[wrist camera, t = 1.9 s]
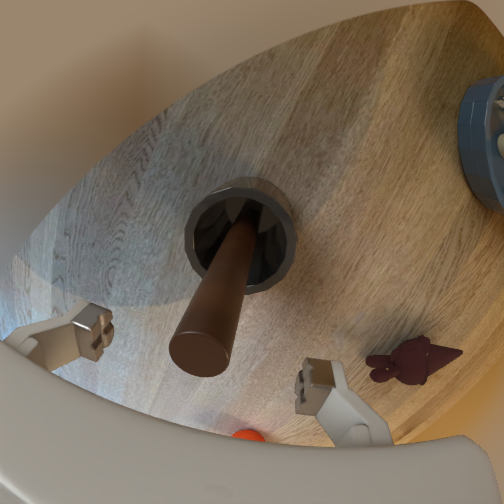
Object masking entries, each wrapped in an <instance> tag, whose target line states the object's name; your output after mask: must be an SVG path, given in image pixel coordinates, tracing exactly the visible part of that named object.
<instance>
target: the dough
mask: <svg viewBox="0 0 504 504" xmlns="http://www.w3.org/2000/svg"><path fill="white" fill-rule="evenodd" d="M497 145H498V151H499V153H500V155H501V156H502V157H503V158H504V134H501V135H500V136H499V138H498V142H497Z"/></svg>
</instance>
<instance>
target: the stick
mask: <svg viewBox="0 0 504 504" xmlns="http://www.w3.org/2000/svg"><path fill="white" fill-rule="evenodd" d="M259 225H260V217H259V215H258V213H257V212H256V211H254V210H252V209H244V210H242V211H241V212H240V213H239V214H238V216H237V217H236V219H235V221H234V223H233V224H232V226H231V228H230V230H229V232H228V233H227V235H226V237H225V239H224V241H223V242H222V244H221V246H220V248H219V250H218V252H217V253H216V255H215V257H214V259H213V261H212V263H211V264H210V266H209V268H208V270H207V272H206V274H205V276H204V277H203V279H202V281H201V283H200V285H199V287H198V289H197V291H196V292H195V294H194V296H193V298H192V300H191V302H190V304H189V306H188V308H187V310H186V311H185V313H184V315H183V317H182V319H181V321H180V323H179V325H178V327H177V329H176V331H175V333H174V335H173V337H172V339H171V341H170V343H169V353H170V356H171V358H172V360H173V361H174V363H175V364H176V365H177V366H178V367H179V368H180V369H182V370H183V371H185V372H187V373H189V374H191V375H194V376H198V377H213V376H217V375H219V374H221V373H222V372H224V371H225V370H226V368H227V367H228V365H229V362H230V357H231V353H232V348H233V344H234V339H235V335H236V330H237V326H238V321H239V317H240V312H241V307H242V303H243V298H244V294H245V289H246V285H247V280H248V275H249V271H250V266H251V262H252V257H253V253H254V248H255V243H256V239H257V234H258V230H259Z"/></svg>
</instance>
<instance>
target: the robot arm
mask: <svg viewBox="0 0 504 504" xmlns="http://www.w3.org/2000/svg"><path fill="white" fill-rule="evenodd" d="M112 319H113V315H112V311H111V310H109V309H106V308H104V307H101V306H98V305H96V304H93V303H90V302H88V301H85V300H80V301H79V302H78V303H77V304H76V305H75V306H74V307H72V308H71V309H70V310H69V311H68V312H67V313H66V314H65V315H64V316H63V317H62V318H61V317H56V318H52V319H48V320H45V321H41V322H37V323H33V324H29V325H26V326H22V327H18V328H16V329H15V330H14V331H13V332H12V333H11V334H10V335H9V336H8V337H6V338H5V339H4V340H3V341H1V340H0V504H502V500H501V496H500V492H499V487H498V483H497V480H496V476H495V473H494V470H493V467H492V464H491V461H490V459H489V457H488V455H487V453H486V451H485V450H483V449H482V448H481V447H480V446H479V445H477V444H476V443H475V442H474V441H473V440H471V439H470V438H468V437H467V436H464V435H456V436H452V437H446V438H441V439H436V440H430V441H423V442H416V443H409V444H399V445H394V444H393V440H392V436H391V433H390V429H389V426H388V423H387V422H386V421H385V420H384V419H383V418H382V417H381V416H379V415H378V414H377V413H376V412H375V411H374V410H373V409H372V408H371V407H370V406H369V405H368V404H367V403H366V402H365V401H364V400H363V399H361V398H360V397H359V396H358V395H357V394H356V393H355V392H354V391H353V390H352V389H349V388H348V383H347V379H346V375H345V371H344V367H343V364H342V362H341V361H333V360H322V359H315V358H307V357H306V358H305V359H304V361H303V364H302V368H303V370H301V371H299V373H298V375H297V378H296V382H295V394H296V395H297V398H296V400H295V411H296V414H302V415H310V416H316V419H317V420H318V421H319V423H320V424H321V426H322V427H323V429H324V430H325V432H326V433H327V434H328V436H329V437H330V439H331V440H332V441H333V443H334V444H335V447H314V446H299V445H287V444H277V443H269V442H261V441H254V440H248V439H242V438H236V437H231V436H226V435H221V434H216V433H211V432H207V431H203V430H199V429H195V428H191V427H187V426H183V425H180V424H176V423H173V422H169V421H166V420H163V419H159V418H156V417H153V416H150V415H147V414H144V413H141V412H139V411H136V410H133V409H130V408H128V407H125V406H122V405H120V404H117V403H115V402H112V401H110V400H108V399H105V398H103V397H101V396H98V395H96V394H94V393H92V392H89V391H87V390H85V389H83V388H81V387H79V386H77V385H75V384H73V383H71V382H69V381H67V380H65V379H63V378H61V377H59V376H57V375H55V374H54V373H52V372H51V371H53V370H55V369H57V368H59V367H61V366H63V365H65V364H67V363H69V362H71V361H73V360H75V359H77V358H79V357H81V356H82V357H85V358H87V359H89V360H92V361H95V362H97V361H98V360H99V359H100V357H101V356H102V354H103V353H104V351H103V348H106V347H108V346H109V345H110V344H111V342H112V339H113V337H114V326H113V325H112V323H111V322H110V321H111V320H112Z"/></svg>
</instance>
